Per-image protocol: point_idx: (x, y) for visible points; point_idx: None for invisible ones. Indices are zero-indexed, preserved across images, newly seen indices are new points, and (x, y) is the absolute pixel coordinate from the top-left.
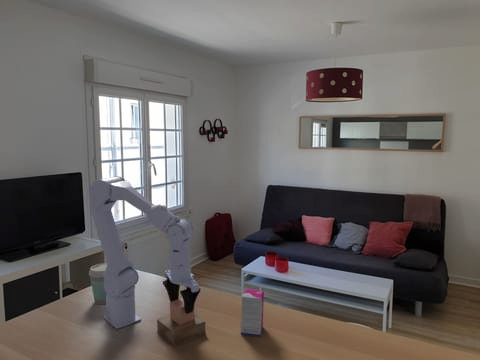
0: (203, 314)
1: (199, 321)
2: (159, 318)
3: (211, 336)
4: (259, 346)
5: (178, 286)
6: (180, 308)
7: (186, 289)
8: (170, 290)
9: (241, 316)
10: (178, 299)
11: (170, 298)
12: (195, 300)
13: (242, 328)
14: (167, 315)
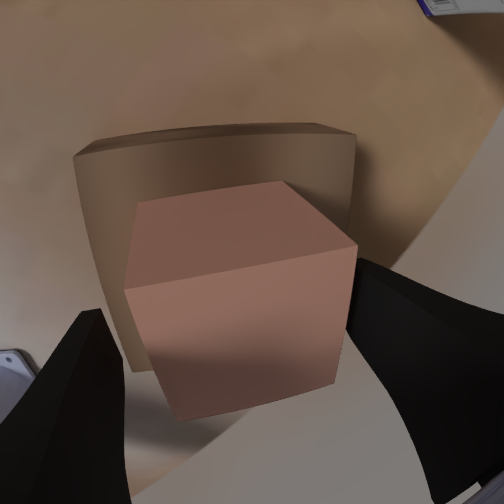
0: (100, 11)
1: (330, 167)
2: (131, 363)
3: (360, 119)
4: (493, 50)
5: (58, 465)
6: (333, 375)
7: (477, 480)
8: (124, 497)
9: (500, 11)
10: (155, 361)
11: (123, 420)
12: (458, 304)
13: (453, 12)
14: (113, 319)
